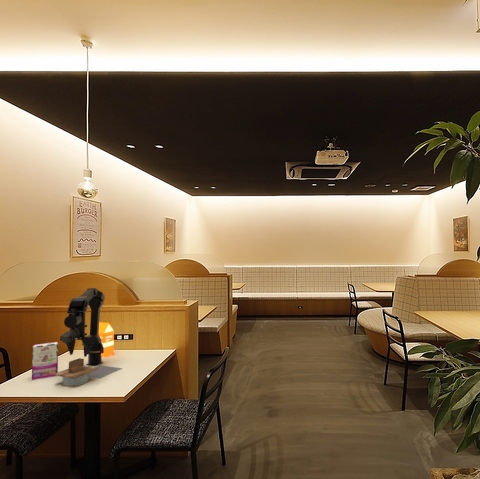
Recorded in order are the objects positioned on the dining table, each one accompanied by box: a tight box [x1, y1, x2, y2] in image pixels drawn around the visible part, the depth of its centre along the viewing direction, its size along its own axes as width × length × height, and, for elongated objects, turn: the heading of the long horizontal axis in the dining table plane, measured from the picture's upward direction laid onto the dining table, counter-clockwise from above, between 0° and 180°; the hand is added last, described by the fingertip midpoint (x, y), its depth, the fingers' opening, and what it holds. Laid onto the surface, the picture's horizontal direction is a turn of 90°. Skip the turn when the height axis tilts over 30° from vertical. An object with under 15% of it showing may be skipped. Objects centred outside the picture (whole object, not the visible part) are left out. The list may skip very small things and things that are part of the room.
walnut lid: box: [54, 357, 97, 379], centre depth 156 cm, size 13×13×6 cm
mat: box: [89, 364, 123, 379], centre depth 169 cm, size 16×16×1 cm
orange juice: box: [99, 321, 115, 358], centre depth 201 cm, size 8×9×20 cm
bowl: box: [62, 373, 90, 387], centre depth 155 cm, size 11×11×4 cm
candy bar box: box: [31, 341, 59, 381], centre depth 164 cm, size 11×5×16 cm, turn 118°
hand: (78, 355), depth 159 cm, fingers open, 9 cm apart
